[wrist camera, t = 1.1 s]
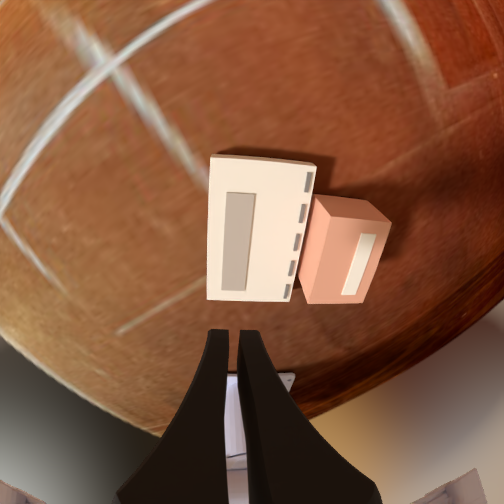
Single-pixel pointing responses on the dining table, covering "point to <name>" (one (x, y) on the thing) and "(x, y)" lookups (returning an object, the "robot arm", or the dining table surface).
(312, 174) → the white slotted panel
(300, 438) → the robot arm
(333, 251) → the pink rectangular block
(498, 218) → the dining table surface
